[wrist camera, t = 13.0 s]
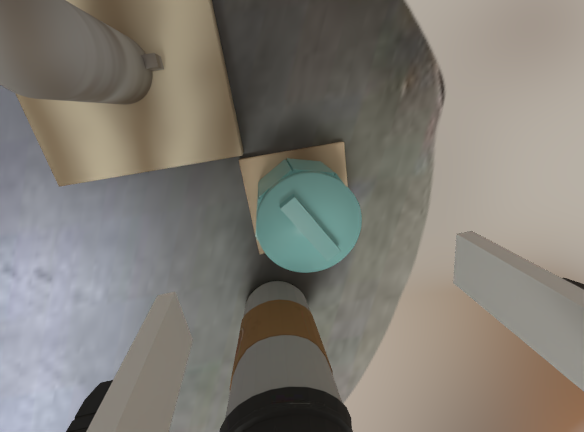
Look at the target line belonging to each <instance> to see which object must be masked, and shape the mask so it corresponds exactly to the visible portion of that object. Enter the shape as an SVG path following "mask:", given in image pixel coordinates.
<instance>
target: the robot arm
mask: <svg viewBox="0 0 584 432" xmlns="http://www.w3.org/2000/svg"><path fill="white" fill-rule="evenodd" d="M453 283H454V284H455V285H457V286H458V287H459V288H460V289H461V290H463V291H464V292H465V293H466V294H467V295H468V296H470V297H471V298H472V299H473V300H474V301H476V302H477V303H478V304H479V305H480V306H482V307H483V308H484V309H485V310H487V311H488V312H489V313H490V314H491V315H493V316H494V317H495V318H496V319H497V320H499V321H500V322H501V323H502V324H503V325H505V326H506V327H507V328H508V329H509V330H511V331H512V332H513V333H514V334H515V335H517V336H518V337H519V338H520V339H521V340H523V341H524V342H525V343H526V344H528V345H529V346H530V347H531V348H532V349H533V350H535V351H536V352H537V353H538V354H539V355H541V356H542V357H543V358H544V359H545V360H547V361H548V362H549V363H550V364H551V365H553V366H554V367H555V368H556V369H557V370H559V371H560V372H561V373H562V374H563V375H565V376H566V377H567V378H568V379H570V380H571V381H572V382H573V383H574V384H576V385H577V386H578V387H579V388H580V389H582V390H583V391H584V284H581V283H579V282H575V281H572V280H569V279H566V278H561V277H559V276H557V275H555V274H553V273H551V272H549V271H547V270H545V269H543V268H541V267H540V266H538V265H536V264H534V263H532V262H530V261H528V260H526V259H524V258H522V257H520V256H519V255H517V254H515V253H513V252H511V251H509V250H507V249H505V248H503V247H501V246H499V245H498V244H496V243H493V242H492V241H490V240H488V239H486V238H484V237H482V236H481V235H478V234H477V233H475V232H473V231H469V232H464V233H459V234H457V236H456V251H455V266H454V281H453ZM192 341H193V339H192V336H191V334H190V331H189V328H188V325H187V322H186V320H185V317H184V314H183V311H182V309H181V306H180V303H179V300H178V298H177V295H176V292H172V293H167V294H162V295H158V296H157V298H156V300H155V301H154V303H153V305H152V307H151V309H150V311H149V313H148V315H147V317H146V319H145V321H144V322H143V324H142V326H141V328H140V330H139V332H138V334H137V336H136V338H135V340H134V341H133V343H132V345H131V347H130V349H129V351H128V353H127V355H126V357H125V359H124V361H123V362H122V364H121V366H120V368H119V370H118V372H117V374H116V376H115V378H114V380H111V381H106V382H102V383H100V384H99V385H98V386H97V387H96V388H95V389H94V390H93V391H92V392H91V394H90V395H89V396H88V397H87V398H86V399H85V400H84V402H83V404H82V406H81V407H80V409H79V411H78V412H77V414H76V416H75V420H73V421H72V423H71V424H70V426H69V428H68V429H67V431H66V432H169V429H170V425H171V421H172V417H173V414H174V410H175V406H176V402H177V398H178V395H179V391H180V387H181V383H182V379H183V376H184V372H185V368H186V364H187V360H188V357H189V353H190V349H191V345H192Z"/></svg>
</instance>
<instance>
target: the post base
mask: <svg viewBox="0 0 584 432" xmlns="http://www.w3.org/2000/svg"><path fill="white" fill-rule="evenodd" d="M0 85H2V86H3V87H5V88H6V89H8V90H10V91H12V92H14V93H16V96H17V98H18V100H19V102H20V104H21V106H22V108H23V111H24V113H25V115H26V117H27V119H28V121H29V123H30V126H31V128H32V130H33V132H34V134H35V136H36V138H37V141H38V143H39V145H40V147H41V149H42V151H43V153H44V155H45V158H46V160H47V162H48V164H49V166H50V168H51V170H52V173H53V175H54V177H55V179H56V181H57V183H58V185H59V186H65V185H71V184H77V183H83V182H89V181H95V180H101V179H107V178H112V177H118V176H124V175H130V174H136V173H142V172H148V171H154V170H160V169H166V168H171V167H177V166H183V165H189V164H195V163H201V162H207V161H213V160H219V159H225V158H230V157H236V156H242V155H243V153H244V151H243V146H242V141H241V137H240V132H239V127H238V122H237V118H236V113H235V108H234V103H233V99H232V94H231V89H230V84H229V80H228V75H227V70H226V66H225V61H224V56H223V51H222V47H221V42H220V37H219V32H218V28H217V23H216V18H215V13H214V9H213V4H212V0H0Z"/></svg>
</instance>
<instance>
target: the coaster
mask: <svg viewBox="0 0 584 432" xmlns="http://www.w3.org/2000/svg"><path fill="white" fill-rule="evenodd" d="M287 158H290V159H301V160H312V161H321V162H322V163H324V164H325V165H326V166H327V167H329V168H330V169H331V170H332V171H334V172H335V173H336V174H337V175H338V176H339V178H340V179H341V180H342V182H343V183H344V184H345V186H347V187H348V185H347V173H346V161H345V148H344V142H336V143H331V144H325V145H319V146H313V147H307V148H301V149H295V150H289V151H284V152H278V153H272V154H266V155H260V156H254V157H248V158H242V159H239V164H240V168H241V173H242V177H243V182H244V186H245V191H246V196H247V200H248V205H249V209H250V214H251V218H252V223H253V227H254V232H255V236H256V212H257V196H258V182H259V180H261V179H262V178H263V177H264V176H265V175H266V174H268V173H269V172H270V171H271V170H272V169H274V168H275V167H276V166H277V165H278V164H279V163H281V162H282V161H283V160H284V159H286V160H287ZM256 241H257V246H258V250H259V254H265V252H264V251H263V249H262V247H261V245H260V243H259V241H258V240H257V239H256Z"/></svg>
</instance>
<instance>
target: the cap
mask: <svg viewBox="0 0 584 432" xmlns="http://www.w3.org/2000/svg"><path fill="white" fill-rule="evenodd" d="M361 224H362V216H361V210H360V205H359V203H358V201H357V199H356V197H355V196H354V194H353V193H352V192H351V191H350V189H349V188H348V187H347V186H345V184H344V183H343V182H342V180H341V179H340V178H339V176H338V175H337V174H336V173H335V172H334V171H332V170H331V169H330V168H329V167H327V166H326V165H325V164H324V163H322V162H321V161H312V160H301V159H290V158H287V160H286V159H284V160H283V161H282V162H281V163H279V164H278V165H277V166H276V167H275V168H274V169H272V170H271V171H270V172H269V173H268V174H266V175H265V176H264V177H263V178H262V179H261V180H259V182H258V196H257V212H256V236H255V237H256V239H257V240H258V241H259V243H260V245H261V247H262V249H263V251H264V252H265V254H266V255H267V256H268V257H269V258H270V259H271V260H272V261H273V262H274V263H276V264H277V265H279V266H281V267H283V268H285V269H288V270H290V271H295V272H302V273H310V272H317V271H321V270H324V269H327V268H329V267H331V266H333V265H335V264H337V263H338V262H340V261H341V260H342V259H343V258H344V257H346V256H347V254H348V253H349V252H350V251H351V250H352V248H353V247H354V245H355V243H356V242H357V239H358V237H359V234H360V230H361Z"/></svg>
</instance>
